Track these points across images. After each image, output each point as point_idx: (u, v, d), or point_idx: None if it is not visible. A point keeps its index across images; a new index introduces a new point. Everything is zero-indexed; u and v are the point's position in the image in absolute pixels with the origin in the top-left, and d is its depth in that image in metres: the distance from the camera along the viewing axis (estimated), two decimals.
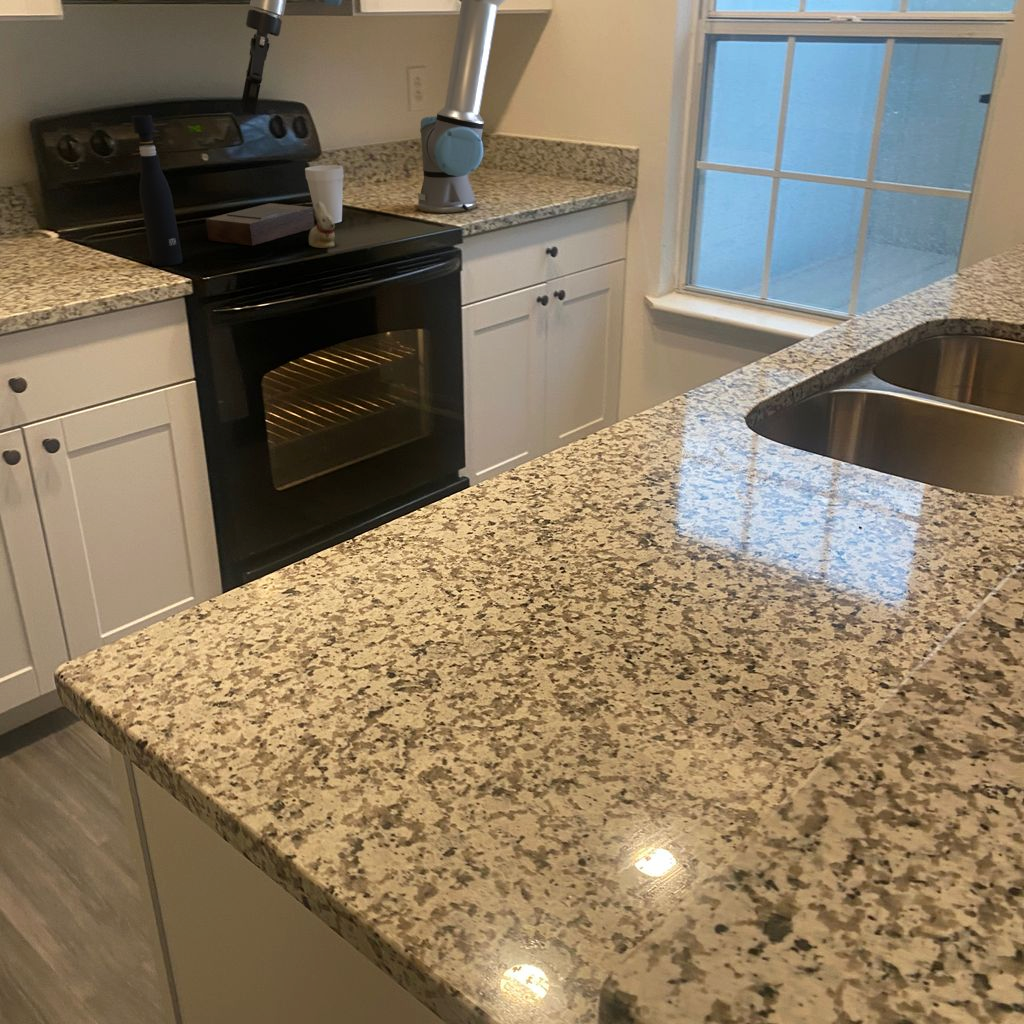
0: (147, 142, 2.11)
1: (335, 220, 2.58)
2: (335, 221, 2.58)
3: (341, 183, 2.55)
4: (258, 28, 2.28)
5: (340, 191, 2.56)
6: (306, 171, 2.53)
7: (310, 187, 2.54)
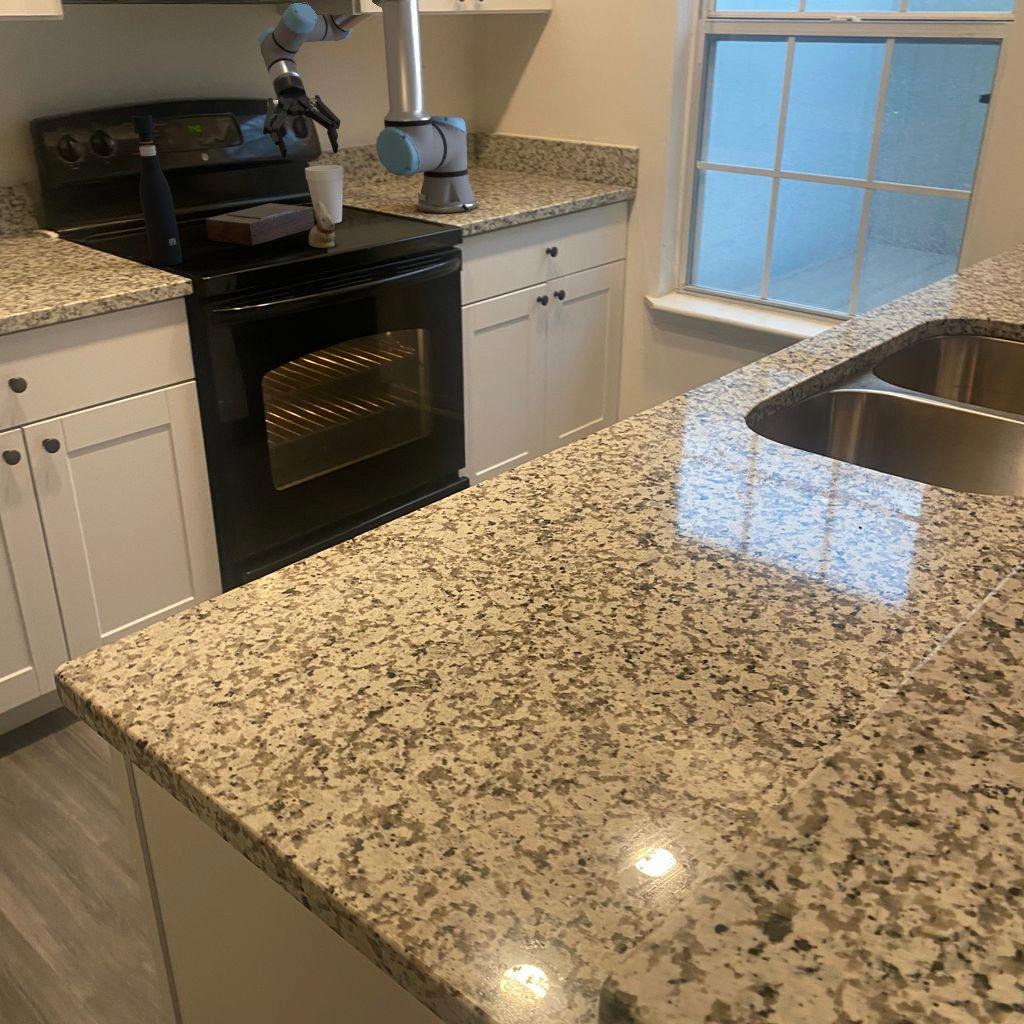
0: (147, 142, 2.11)
1: (335, 220, 2.58)
2: (335, 221, 2.58)
3: (341, 183, 2.55)
4: None
5: (340, 191, 2.56)
6: (306, 171, 2.53)
7: (310, 187, 2.54)
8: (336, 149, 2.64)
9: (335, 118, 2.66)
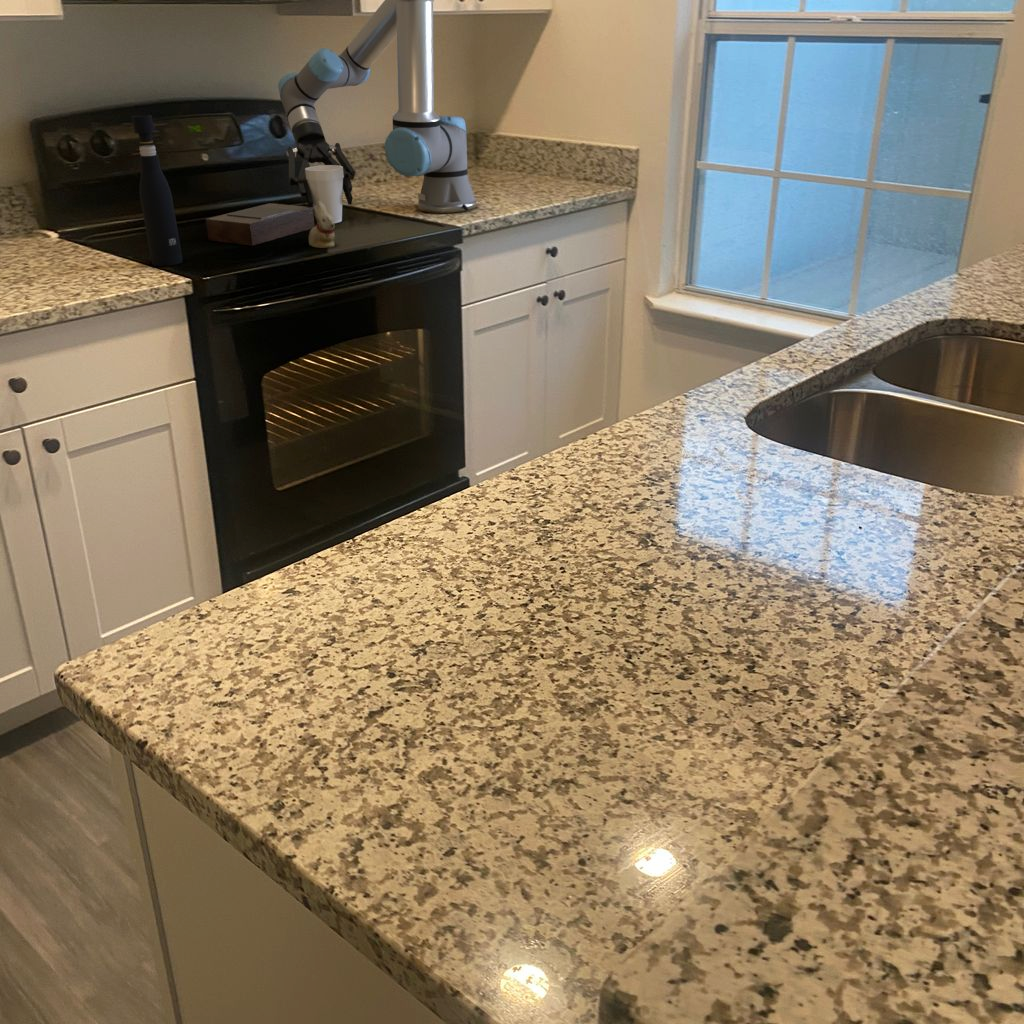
0: (147, 142, 2.11)
1: (335, 220, 2.58)
2: (335, 221, 2.58)
3: (341, 183, 2.55)
4: (296, 145, 2.60)
5: (340, 191, 2.56)
6: (306, 171, 2.53)
7: (310, 187, 2.54)
8: (350, 201, 2.57)
9: (350, 168, 2.60)
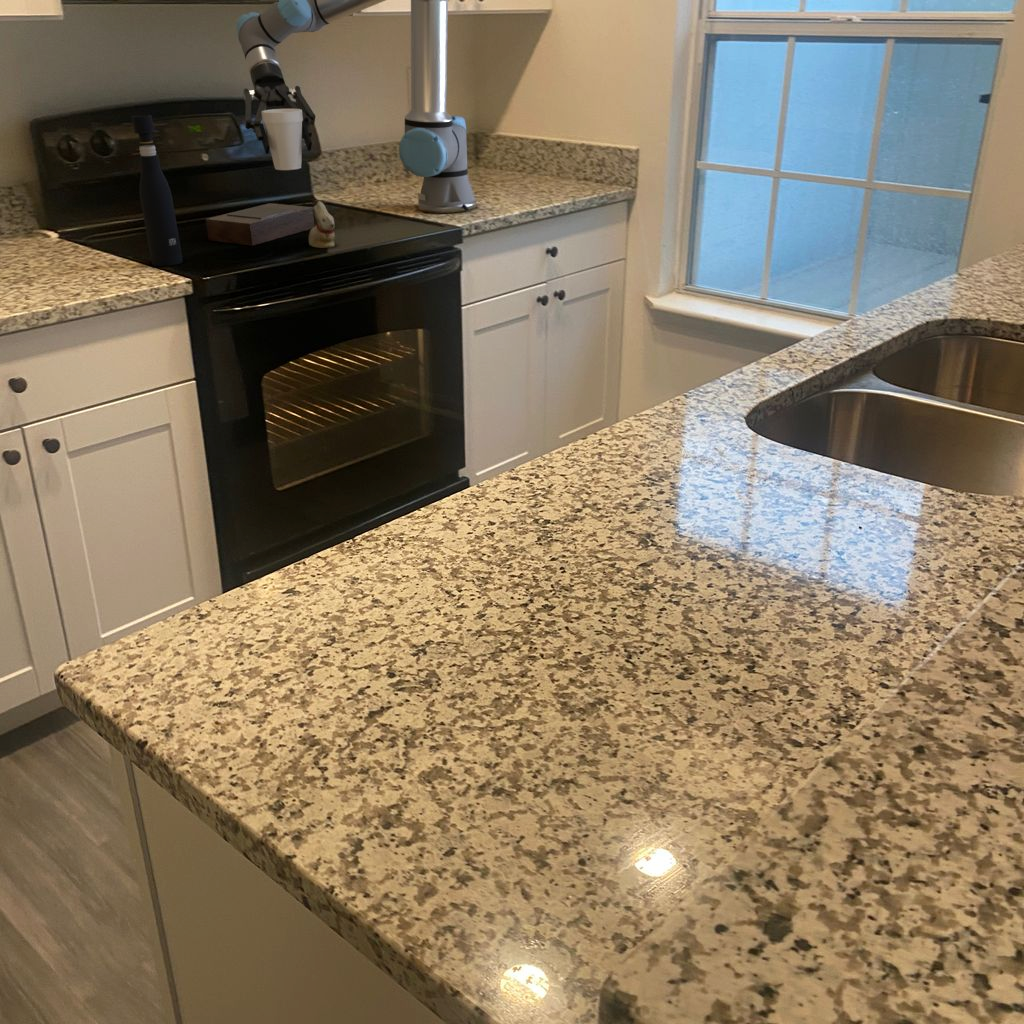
0: (147, 142, 2.11)
1: (294, 166, 2.45)
2: (294, 167, 2.46)
3: (299, 127, 2.42)
4: None
5: (299, 135, 2.43)
6: (262, 113, 2.40)
7: (267, 131, 2.42)
8: (310, 146, 2.45)
9: (310, 112, 2.47)
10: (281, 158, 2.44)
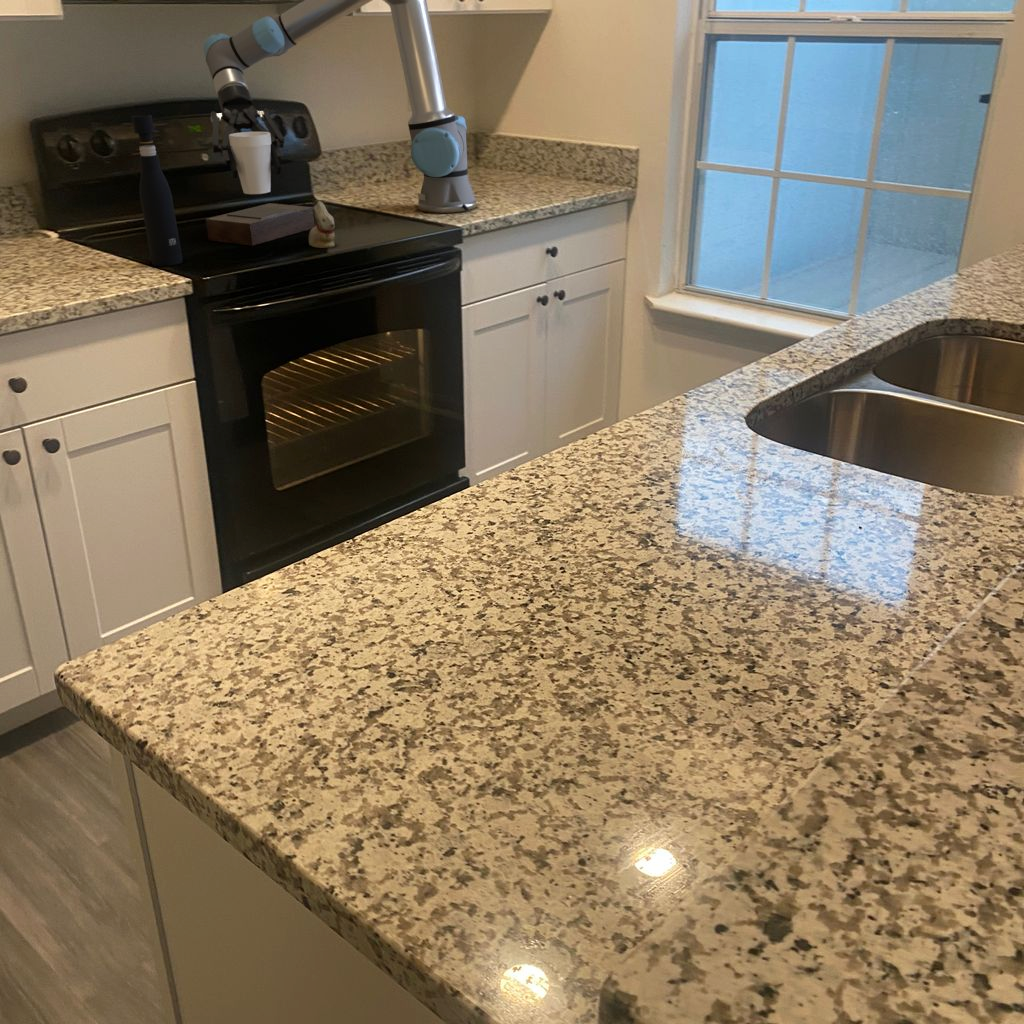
0: (147, 142, 2.11)
1: (262, 190, 2.41)
2: (262, 191, 2.41)
3: (268, 150, 2.38)
4: None
5: (267, 159, 2.39)
6: (230, 137, 2.36)
7: (234, 154, 2.38)
8: (278, 170, 2.41)
9: (279, 135, 2.43)
10: (250, 182, 2.40)
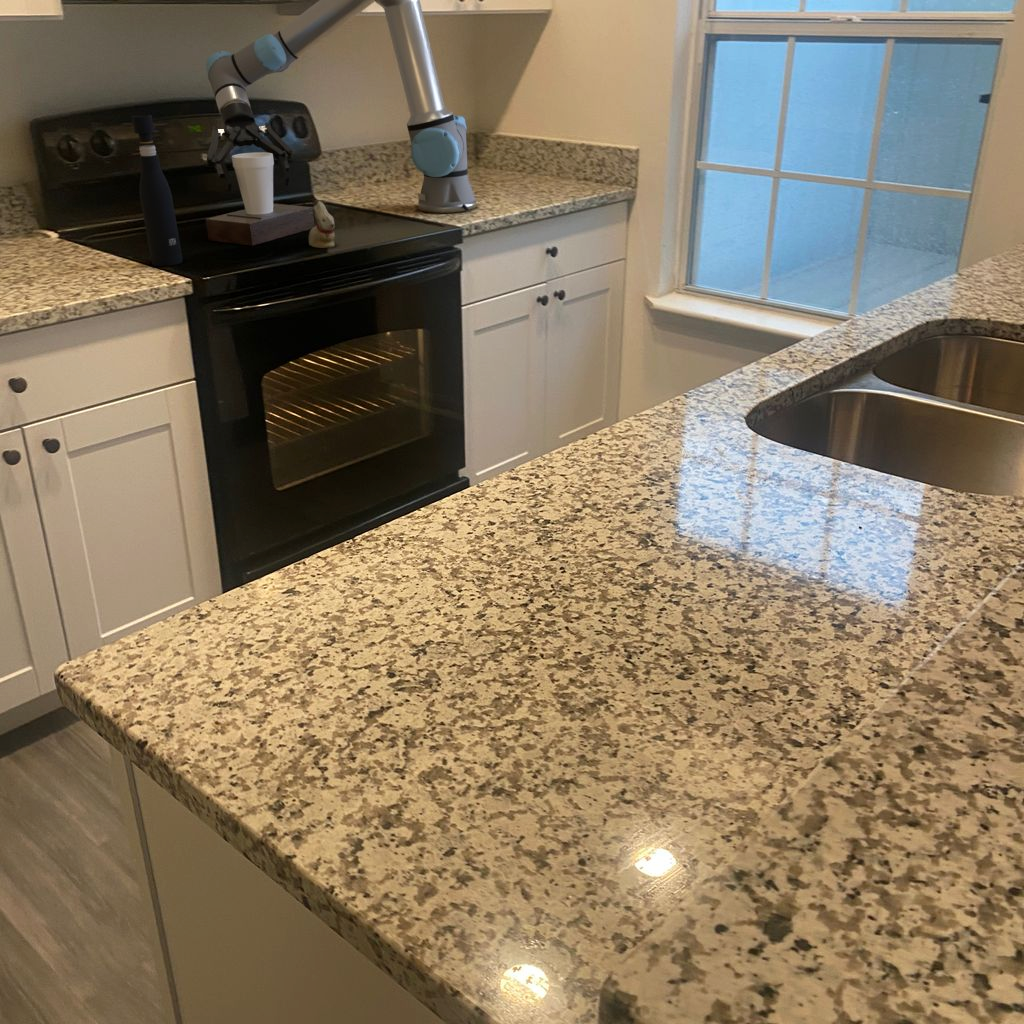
0: (147, 142, 2.11)
1: (265, 210, 2.43)
2: (265, 212, 2.43)
3: (270, 171, 2.40)
4: None
5: (270, 180, 2.41)
6: (233, 158, 2.38)
7: (237, 175, 2.40)
8: (287, 181, 2.44)
9: (286, 148, 2.46)
10: (253, 203, 2.42)
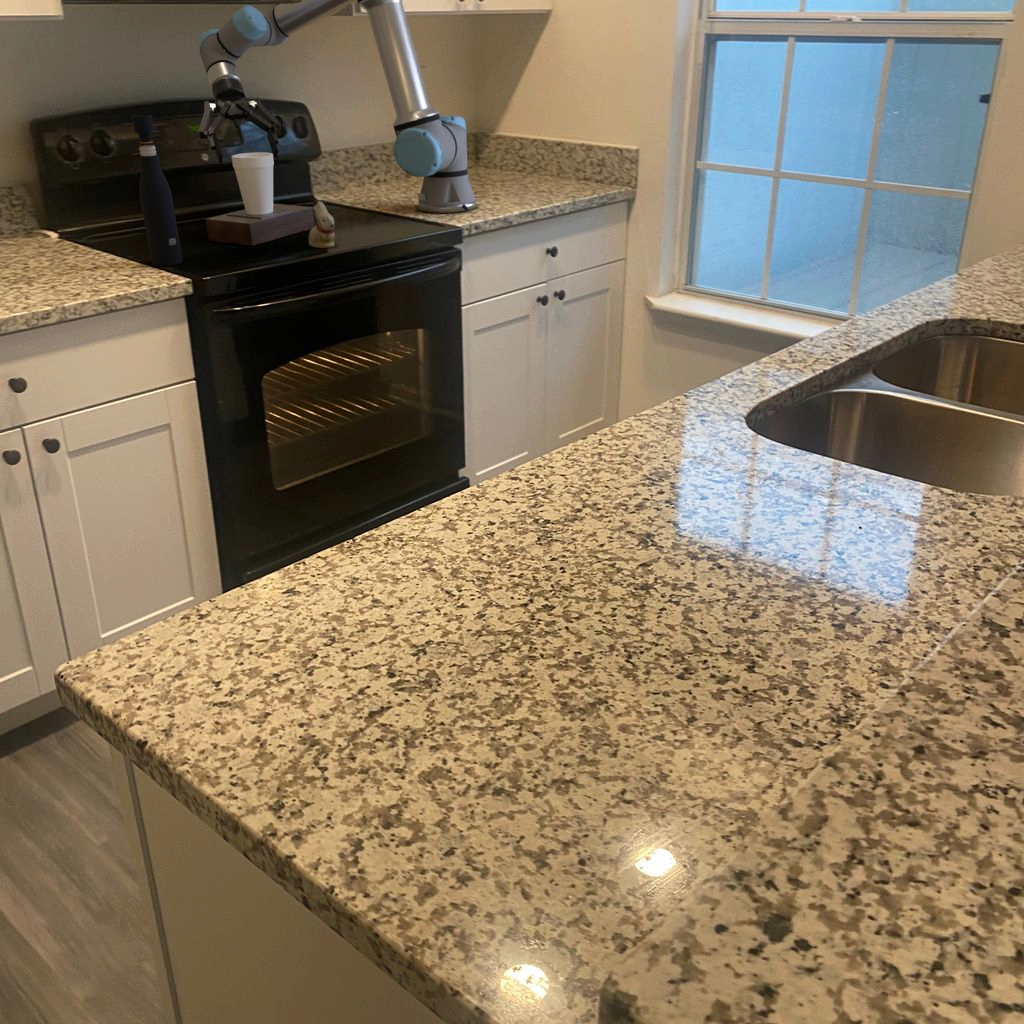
0: (147, 142, 2.11)
1: (265, 210, 2.43)
2: (265, 212, 2.43)
3: (270, 171, 2.40)
4: None
5: (270, 180, 2.41)
6: (233, 158, 2.38)
7: (237, 175, 2.40)
8: (276, 153, 2.54)
9: (275, 121, 2.56)
10: (253, 203, 2.42)
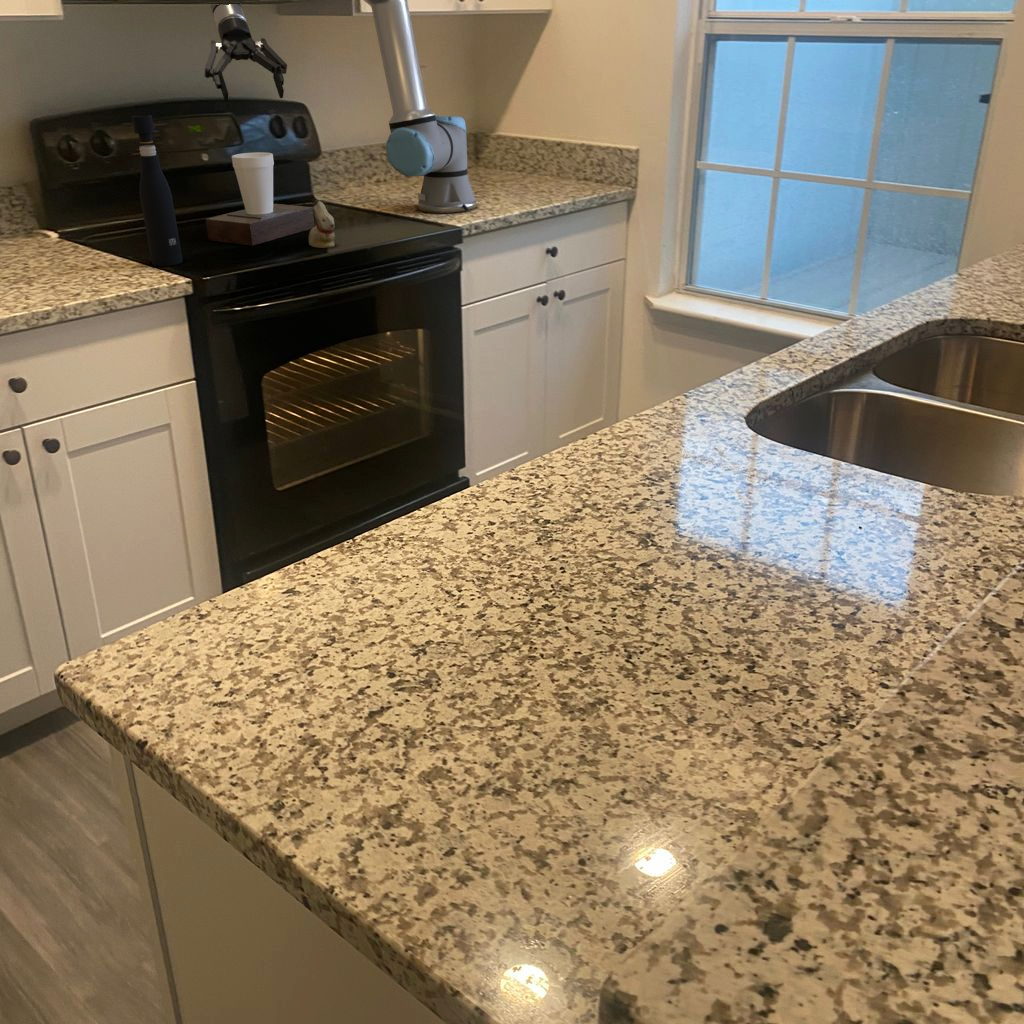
0: (147, 142, 2.11)
1: (265, 210, 2.43)
2: (265, 212, 2.43)
3: (270, 171, 2.40)
4: None
5: (270, 180, 2.41)
6: (233, 158, 2.38)
7: (237, 175, 2.40)
8: (281, 93, 2.54)
9: (281, 62, 2.56)
10: (253, 203, 2.42)
